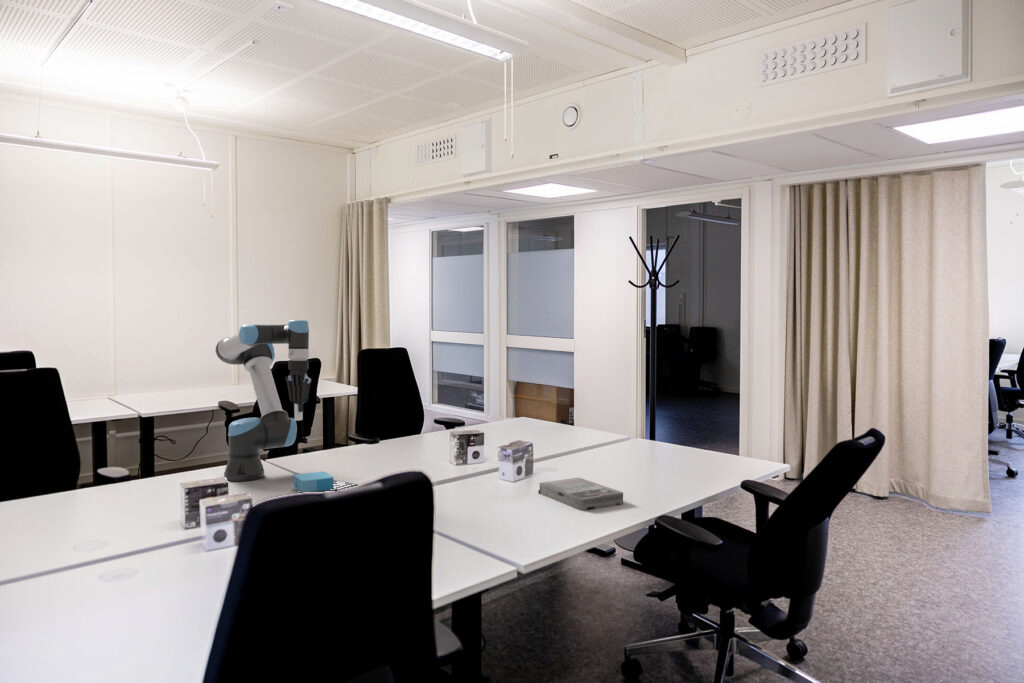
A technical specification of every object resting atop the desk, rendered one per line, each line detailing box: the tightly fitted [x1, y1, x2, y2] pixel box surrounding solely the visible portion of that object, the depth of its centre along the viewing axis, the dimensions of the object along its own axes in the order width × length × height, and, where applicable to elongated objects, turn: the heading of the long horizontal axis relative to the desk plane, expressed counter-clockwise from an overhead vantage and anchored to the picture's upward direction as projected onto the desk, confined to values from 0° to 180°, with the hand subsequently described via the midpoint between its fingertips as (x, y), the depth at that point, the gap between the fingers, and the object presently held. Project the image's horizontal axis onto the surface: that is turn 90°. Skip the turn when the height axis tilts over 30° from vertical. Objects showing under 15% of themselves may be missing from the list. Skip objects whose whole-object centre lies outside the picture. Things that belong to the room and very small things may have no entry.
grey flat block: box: [538, 477, 624, 512], centre depth 247 cm, size 18×27×4 cm
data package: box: [293, 471, 334, 492], centre depth 258 cm, size 12×4×12 cm
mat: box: [291, 479, 359, 494], centre depth 259 cm, size 14×20×1 cm
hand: (298, 420), depth 267 cm, fingers closed
